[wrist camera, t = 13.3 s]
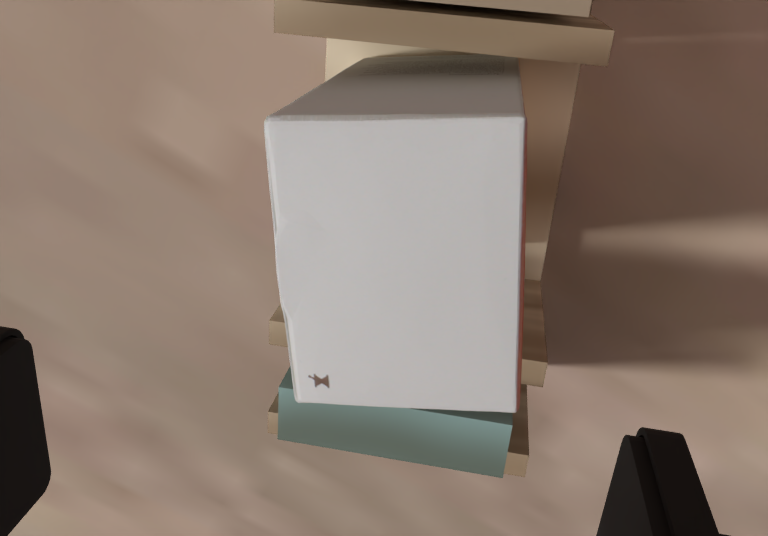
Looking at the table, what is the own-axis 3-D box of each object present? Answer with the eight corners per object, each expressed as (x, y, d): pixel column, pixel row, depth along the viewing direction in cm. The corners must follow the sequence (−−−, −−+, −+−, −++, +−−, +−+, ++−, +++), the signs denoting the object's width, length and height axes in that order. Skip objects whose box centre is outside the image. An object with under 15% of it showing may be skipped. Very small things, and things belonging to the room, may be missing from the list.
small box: (518, 244, 30) (521, 421, 19) (372, 242, 32) (288, 409, 20) (522, 47, 27) (530, 111, 15) (361, 52, 28) (253, 116, 17)
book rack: (341, -124, 27) (252, -168, 18) (608, -103, 26) (661, -141, 17) (319, 333, 35) (250, 465, 26) (521, 364, 34) (525, 514, 25)
